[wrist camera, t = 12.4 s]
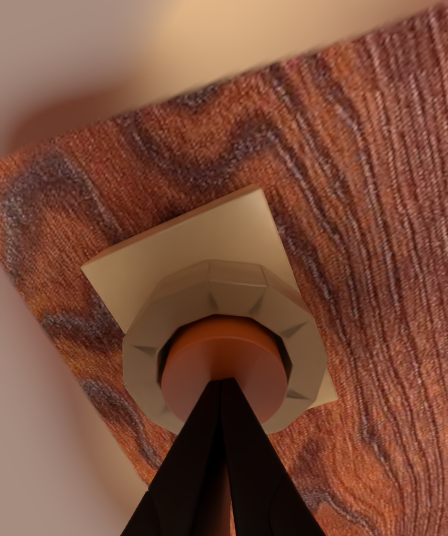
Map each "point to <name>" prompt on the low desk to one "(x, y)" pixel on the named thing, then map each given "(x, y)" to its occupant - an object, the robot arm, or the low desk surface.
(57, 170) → the low desk surface
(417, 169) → the low desk surface
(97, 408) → the low desk surface
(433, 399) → the low desk surface
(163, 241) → the button block
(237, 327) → the button
